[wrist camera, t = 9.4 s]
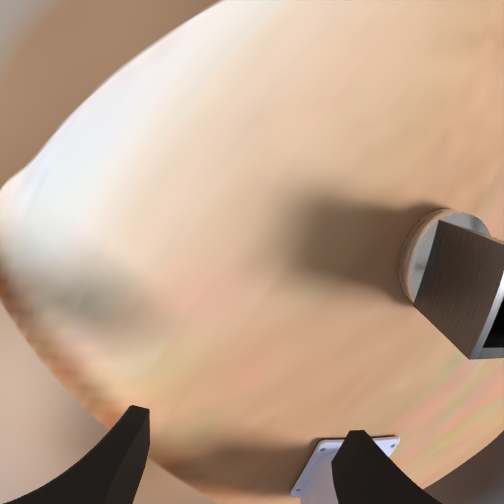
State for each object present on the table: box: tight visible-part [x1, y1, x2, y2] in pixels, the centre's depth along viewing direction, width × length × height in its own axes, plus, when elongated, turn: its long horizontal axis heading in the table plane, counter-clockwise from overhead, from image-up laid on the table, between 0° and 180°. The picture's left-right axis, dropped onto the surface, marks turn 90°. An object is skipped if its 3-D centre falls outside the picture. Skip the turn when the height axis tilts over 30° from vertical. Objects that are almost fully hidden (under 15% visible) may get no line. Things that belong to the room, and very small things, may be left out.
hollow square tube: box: [413, 220, 504, 359], centre depth 13 cm, size 5×5×6 cm
